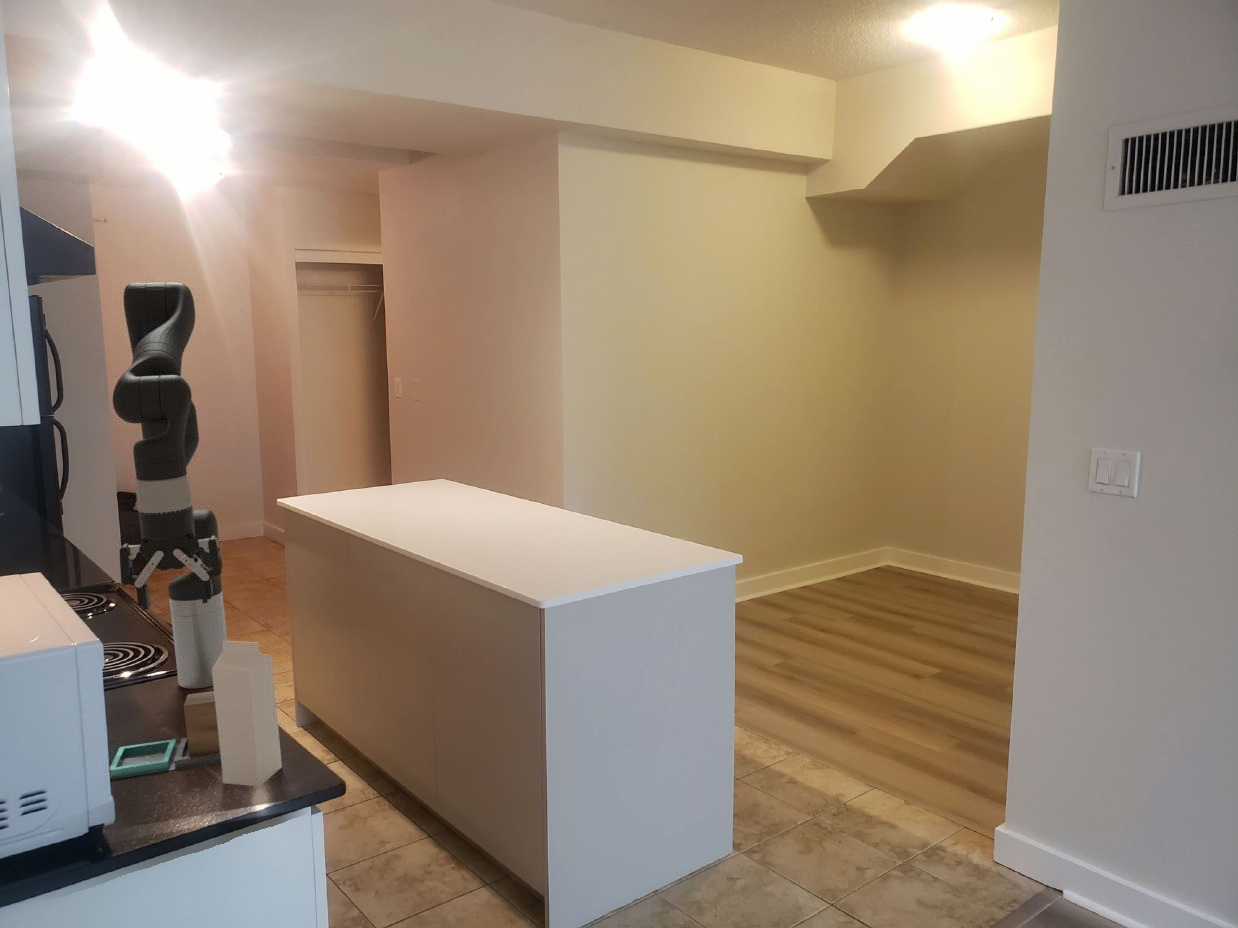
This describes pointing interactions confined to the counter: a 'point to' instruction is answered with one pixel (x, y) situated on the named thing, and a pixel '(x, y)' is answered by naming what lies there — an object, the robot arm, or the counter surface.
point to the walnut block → (201, 723)
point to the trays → (157, 758)
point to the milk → (246, 714)
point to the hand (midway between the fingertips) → (176, 604)
